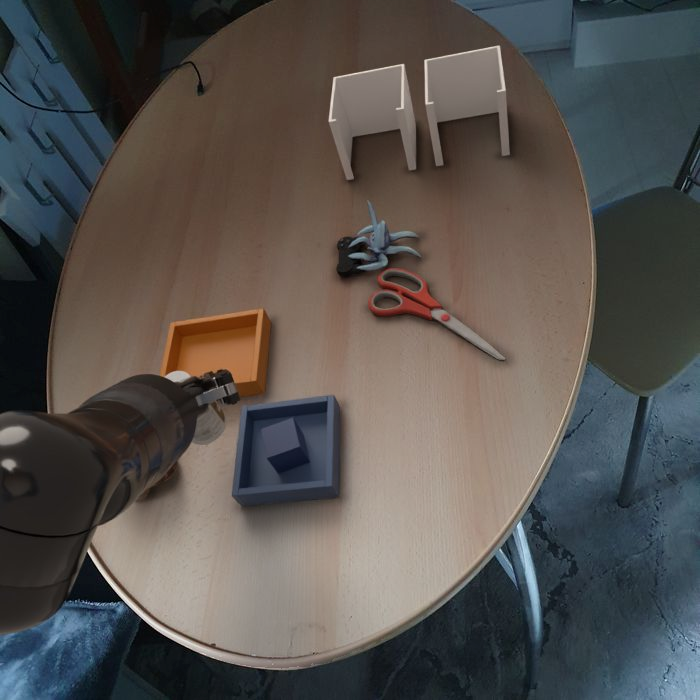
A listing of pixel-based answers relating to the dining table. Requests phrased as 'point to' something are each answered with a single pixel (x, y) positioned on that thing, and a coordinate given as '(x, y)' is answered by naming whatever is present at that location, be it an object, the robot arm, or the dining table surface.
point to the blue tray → (297, 483)
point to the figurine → (378, 246)
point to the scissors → (423, 307)
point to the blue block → (285, 445)
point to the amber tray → (222, 348)
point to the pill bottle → (204, 417)
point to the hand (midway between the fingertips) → (188, 390)
